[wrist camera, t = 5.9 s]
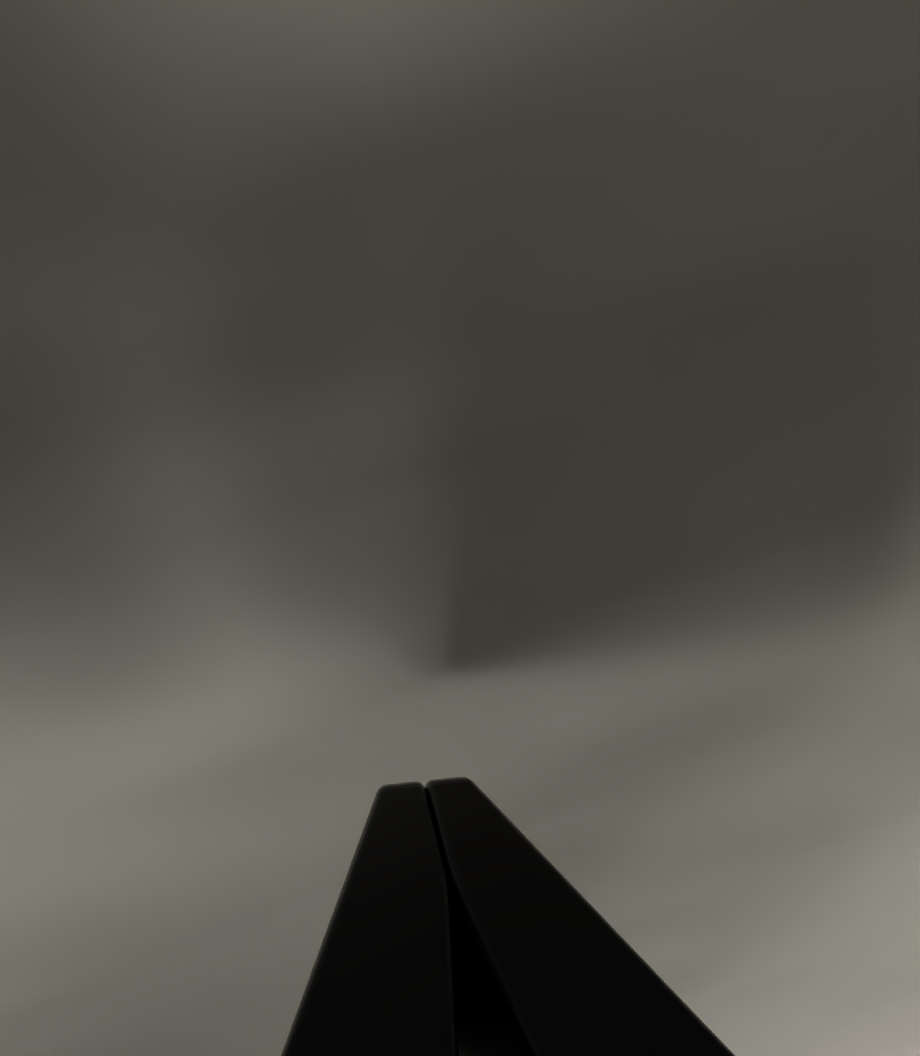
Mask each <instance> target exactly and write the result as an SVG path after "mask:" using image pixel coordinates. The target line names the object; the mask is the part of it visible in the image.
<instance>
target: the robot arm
mask: <svg viewBox="0 0 920 1056" xmlns="http://www.w3.org/2000/svg"><path fill="white" fill-rule="evenodd" d="M281 1056H735V1055H734V1054H733V1053H732V1052H731V1051H730V1050H729V1049H728V1048H727V1047H726V1046H725V1045H724V1044H723V1043H722V1042H721V1041H720V1039H719V1038H718V1037H717V1036H716V1035H715V1034H714V1033H713V1032H712V1031H711V1030H710V1029H709V1028H708V1027H707V1026H706V1025H705V1024H704V1023H703V1022H702V1021H701V1020H700V1019H699V1018H698V1016H697V1015H696V1014H695V1013H694V1012H693V1011H692V1010H691V1009H690V1008H689V1007H688V1006H687V1005H686V1004H685V1003H684V1002H683V1001H682V1000H681V999H680V998H679V997H678V996H677V995H676V994H675V992H674V991H673V990H672V989H671V988H670V987H669V986H668V985H667V984H666V983H665V982H664V981H663V980H662V979H661V978H660V977H659V976H658V975H657V974H656V973H655V972H654V971H653V969H652V968H651V967H650V966H649V965H648V964H647V963H646V962H645V961H644V960H643V959H642V958H641V957H640V956H639V955H638V954H637V953H636V952H635V951H634V950H633V949H632V948H631V946H630V945H629V944H628V943H627V942H626V941H625V940H624V939H623V938H622V937H621V936H620V935H619V934H618V933H617V932H616V931H615V930H614V929H613V928H612V927H611V926H610V925H609V923H608V922H607V921H606V920H605V919H604V918H603V917H602V916H601V915H600V914H599V913H598V912H597V911H596V910H595V909H594V908H593V907H592V906H591V905H590V904H589V903H588V902H587V901H586V899H585V898H584V897H583V896H582V895H581V894H580V893H579V892H578V891H577V890H576V889H575V888H574V887H573V886H572V885H571V884H570V883H569V882H568V881H567V880H566V879H565V878H564V876H563V875H562V874H561V873H560V872H559V871H558V870H557V869H556V868H555V867H554V866H553V865H552V864H551V863H550V862H549V861H548V860H547V859H546V858H545V857H544V856H543V855H542V853H541V852H540V851H539V850H538V849H537V848H536V847H535V846H534V845H533V844H532V843H531V842H530V841H529V840H528V839H527V838H526V837H525V836H524V835H523V834H522V833H521V832H520V830H519V829H518V828H517V827H516V826H515V825H514V824H513V823H512V822H511V821H510V820H509V819H508V818H507V817H506V816H505V815H504V814H503V813H502V812H501V811H500V810H499V809H498V808H497V806H496V805H495V804H494V803H493V802H492V801H491V800H490V799H489V798H488V797H487V796H486V795H485V794H484V793H483V792H482V791H481V790H480V789H479V788H478V787H477V786H476V785H475V783H474V782H473V781H471V780H470V779H468V778H466V777H456V778H446V779H437V780H431V781H429V782H428V783H427V784H426V785H425V788H424V786H423V785H422V784H421V783H419V782H408V783H398V784H388V785H383V786H382V787H380V789H379V790H378V792H377V794H376V796H375V799H374V802H373V805H372V807H371V810H370V813H369V816H368V818H367V821H366V824H365V827H364V829H363V832H362V835H361V838H360V840H359V843H358V846H357V849H356V851H355V854H354V857H353V860H352V862H351V865H350V868H349V870H348V873H347V876H346V879H345V881H344V884H343V887H342V890H341V892H340V895H339V898H338V901H337V903H336V906H335V909H334V912H333V914H332V917H331V920H330V923H329V925H328V928H327V931H326V934H325V936H324V939H323V942H322V945H321V947H320V950H319V953H318V956H317V958H316V961H315V964H314V967H313V969H312V972H311V975H310V978H309V980H308V983H307V986H306V989H305V991H304V994H303V997H302V999H301V1002H300V1005H299V1008H298V1010H297V1013H296V1016H295V1019H294V1021H293V1024H292V1027H291V1030H290V1032H289V1035H288V1038H287V1041H286V1043H285V1046H284V1049H283V1052H282V1054H281Z"/></svg>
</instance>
